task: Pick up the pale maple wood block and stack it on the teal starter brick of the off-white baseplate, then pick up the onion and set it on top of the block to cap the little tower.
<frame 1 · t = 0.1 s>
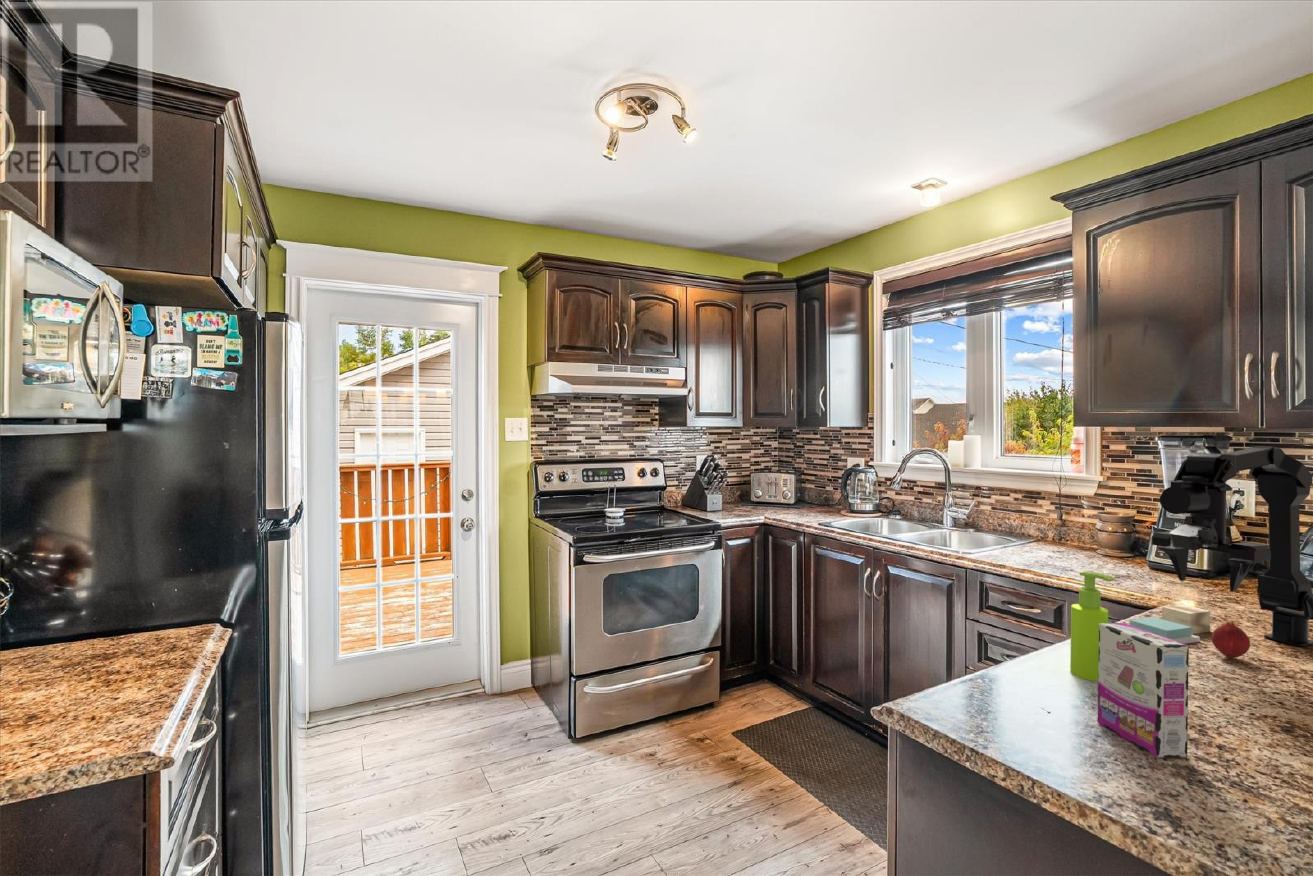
hand: (1206, 585, 129), 15 cm above the counter, tool pointing down, fingers open, 9 cm apart
candy bar box: (1140, 741, 93), on the counter
soap dispenser: (1091, 677, 117), on the counter
onion: (1230, 659, 127), on the counter
maple block: (1185, 629, 146), on the counter
tower base: (1160, 636, 140), on the counter
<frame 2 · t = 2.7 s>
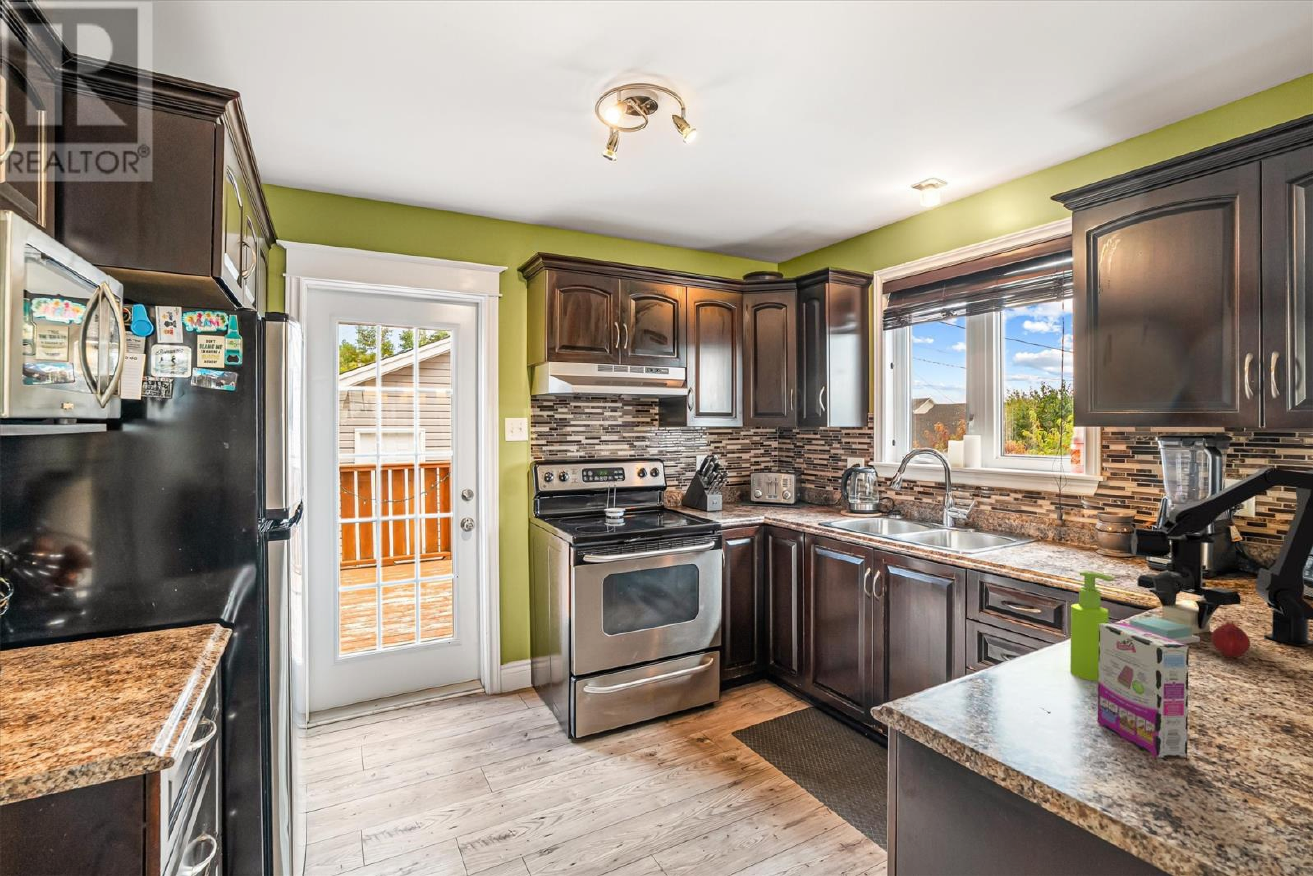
hand: (1185, 624, 146), 1 cm above the counter, tool pointing down, fingers closed on maple block, 6 cm apart
maple block: (1185, 629, 146), on the counter, touching gripper
everything else where it was.
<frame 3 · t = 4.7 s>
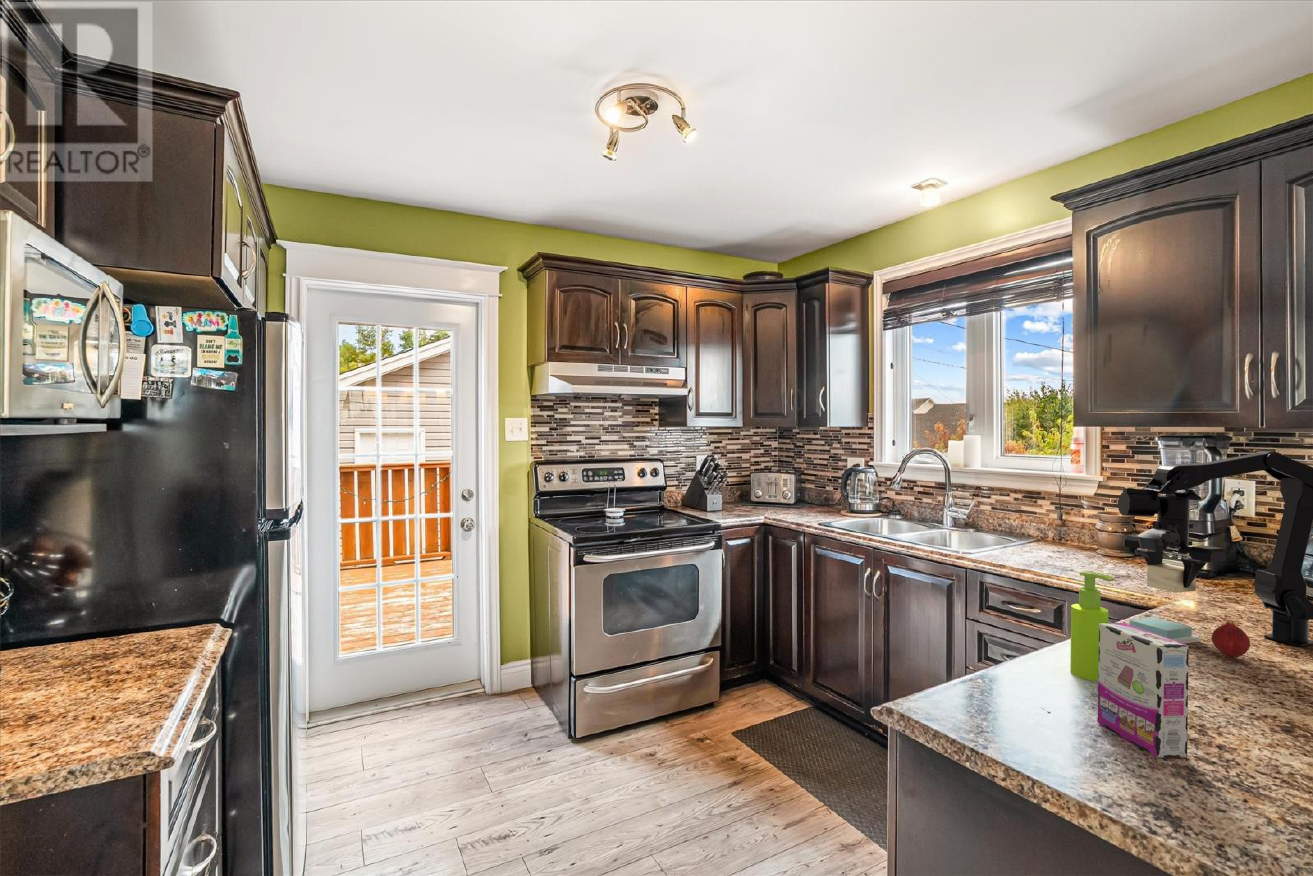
hand: (1170, 584, 143), 11 cm above the counter, tool pointing down, fingers closed on maple block, 6 cm apart
maple block: (1170, 588, 143), point 10 cm above the counter, touching gripper
everything else where it was.
when the fingers open (5 cm above the counter, at t = 6.6 s): maple block stays where it is, resting on tower base.
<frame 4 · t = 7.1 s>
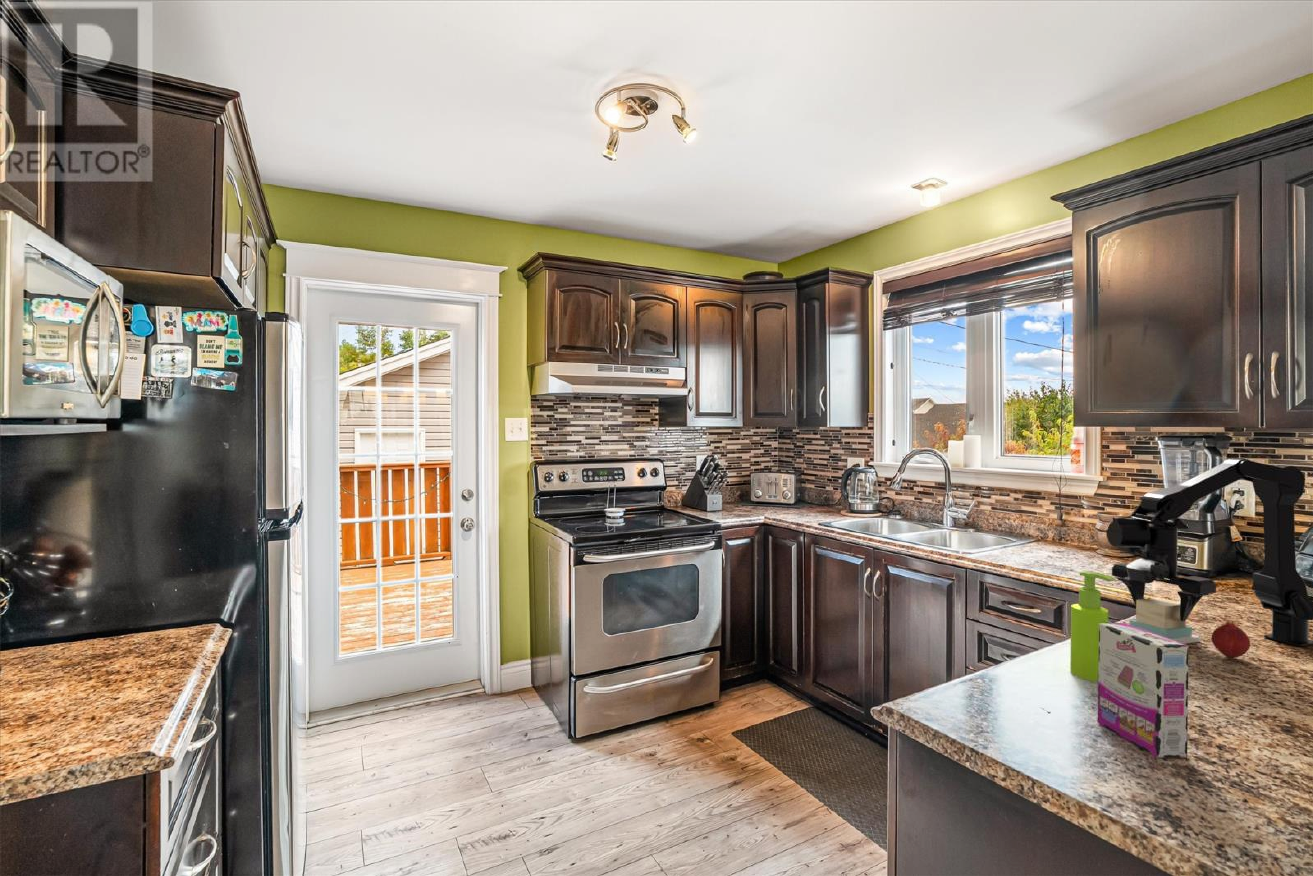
hand: (1160, 615, 140), 5 cm above the counter, tool pointing down, fingers open, 9 cm apart
maple block: (1160, 623, 140), point 3 cm above the counter, touching tower base
everything else where it was.
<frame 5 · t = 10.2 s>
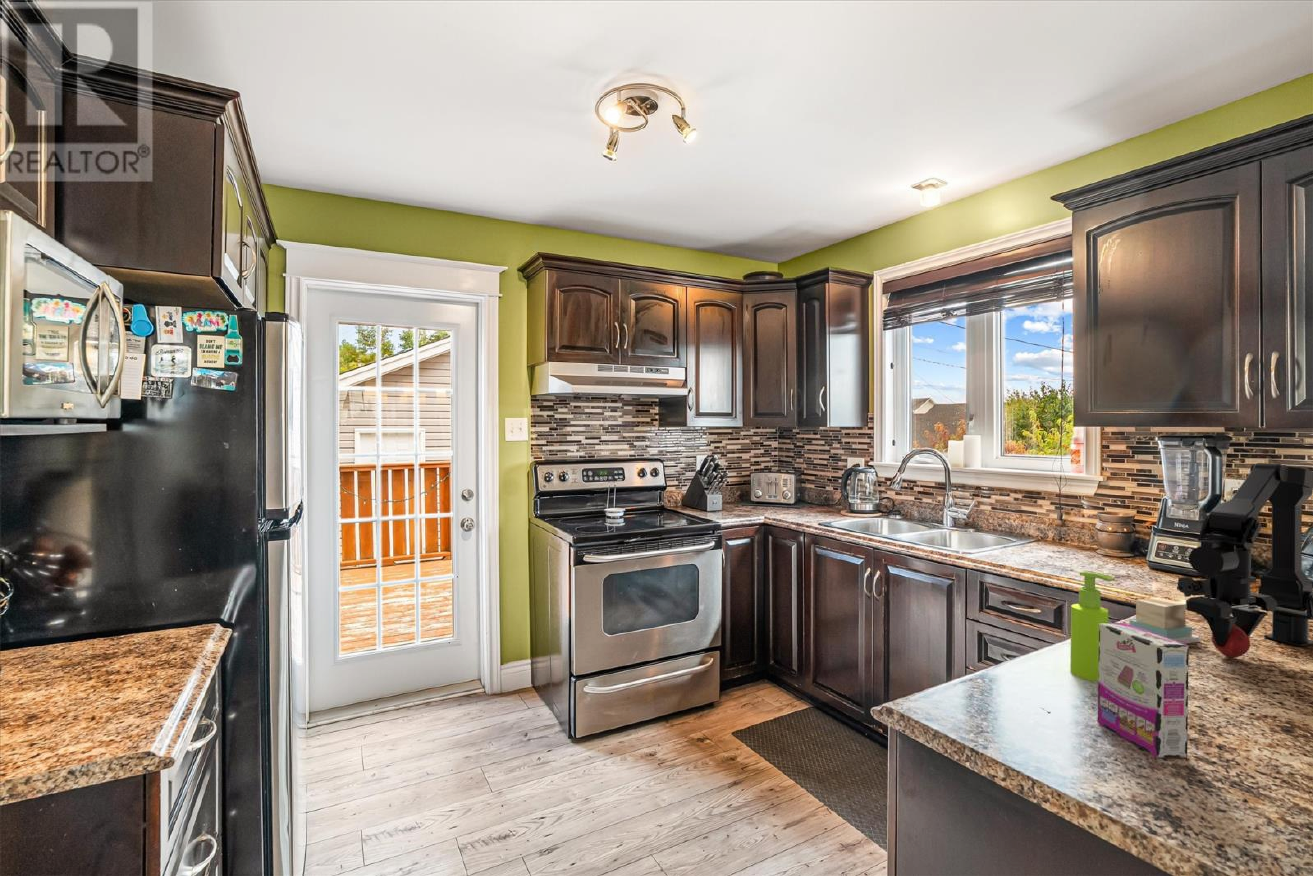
hand: (1230, 645, 127), 3 cm above the counter, tool pointing down, fingers closed on onion, 6 cm apart
onion: (1230, 659, 127), on the counter, touching gripper
everything else where it was.
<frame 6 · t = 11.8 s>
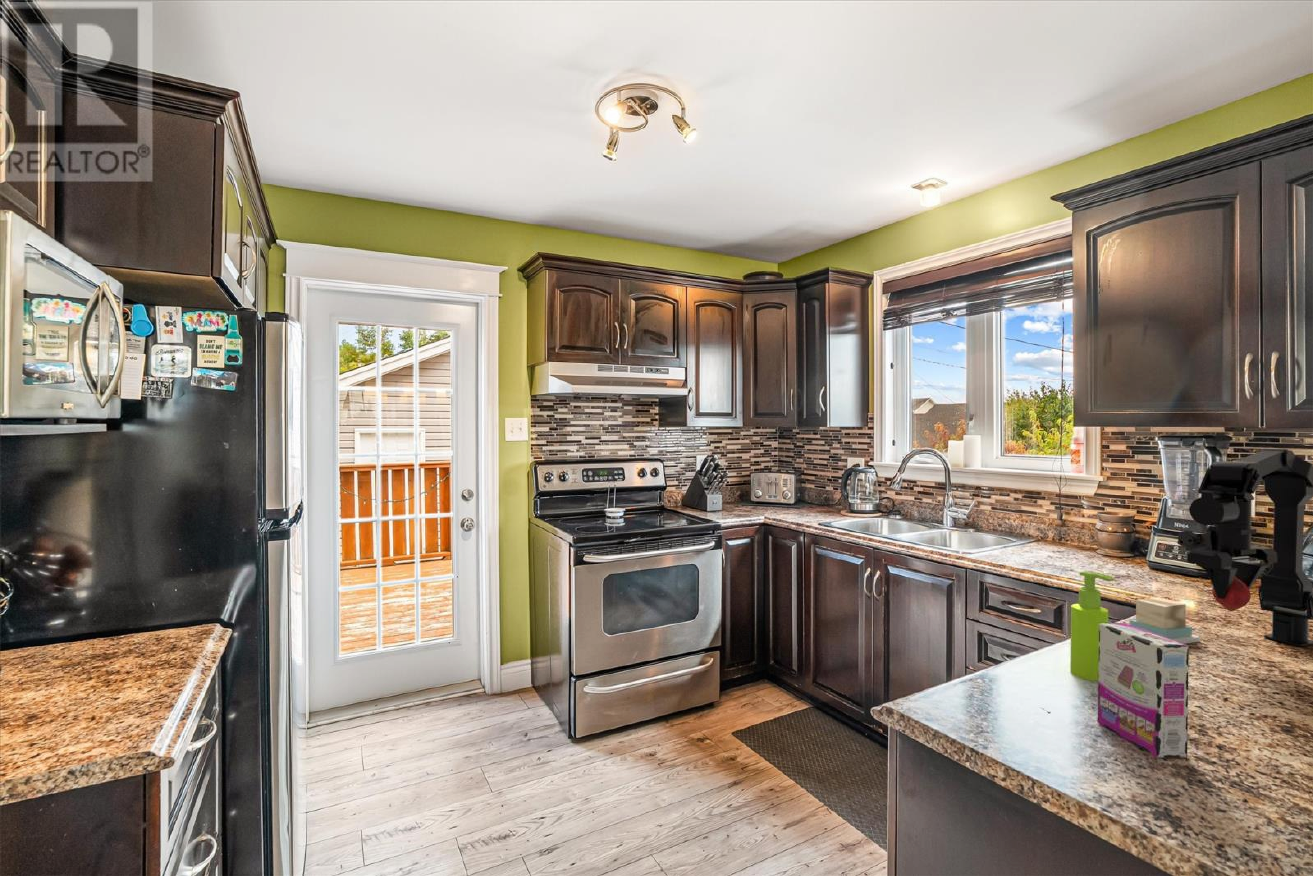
hand: (1231, 597, 127), 13 cm above the counter, tool pointing down, fingers closed on onion, 6 cm apart
onion: (1230, 612, 127), point 10 cm above the counter, touching gripper
everything else where it was.
when the fingers open (12 cm above the counter, at t = 13.7 s): onion stays where it is, resting on maple block.
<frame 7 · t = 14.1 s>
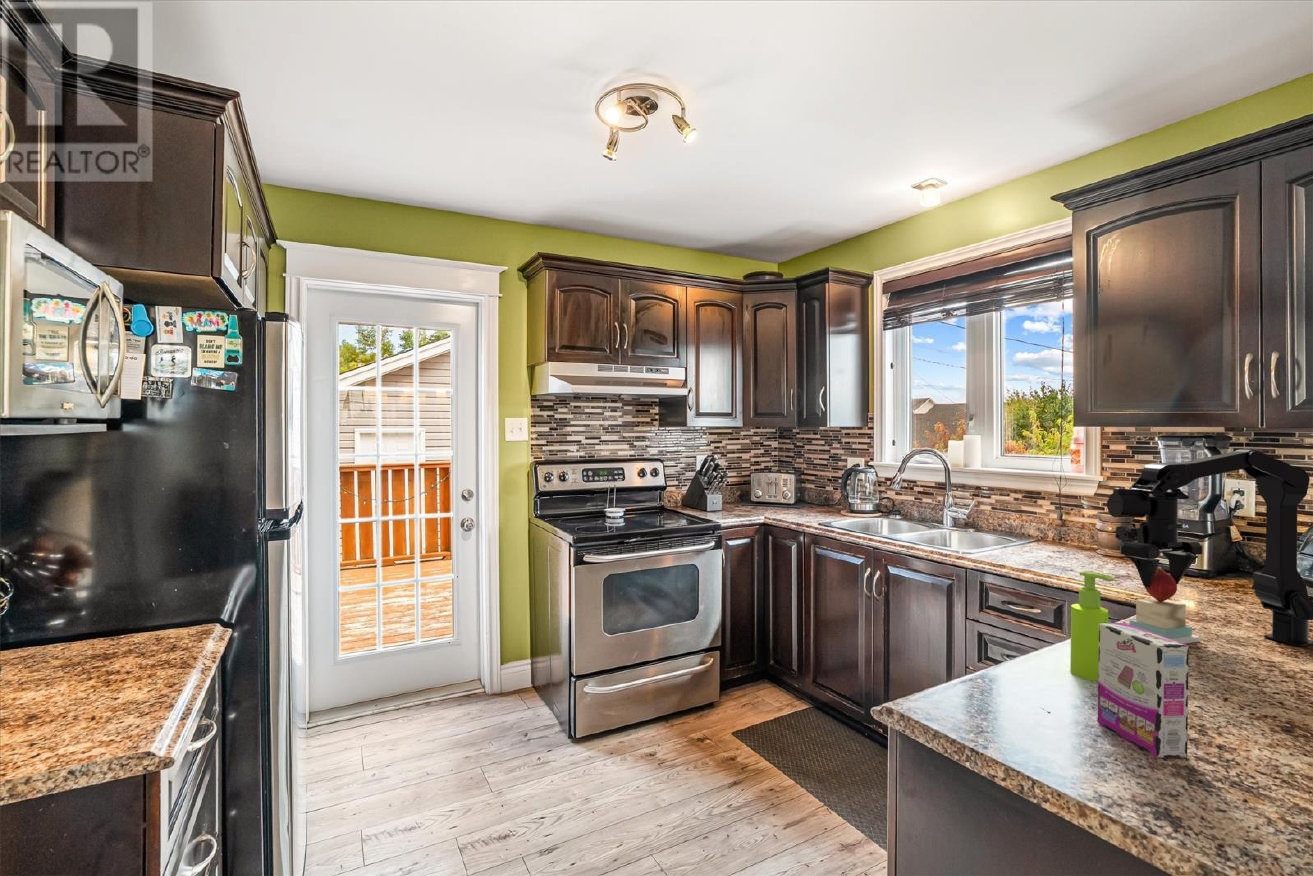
hand: (1160, 585, 140), 12 cm above the counter, tool pointing down, fingers open, 9 cm apart
onion: (1160, 602, 140), point 8 cm above the counter, touching maple block
maple block: (1160, 623, 140), point 3 cm above the counter, touching onion, tower base
everything else where it was.
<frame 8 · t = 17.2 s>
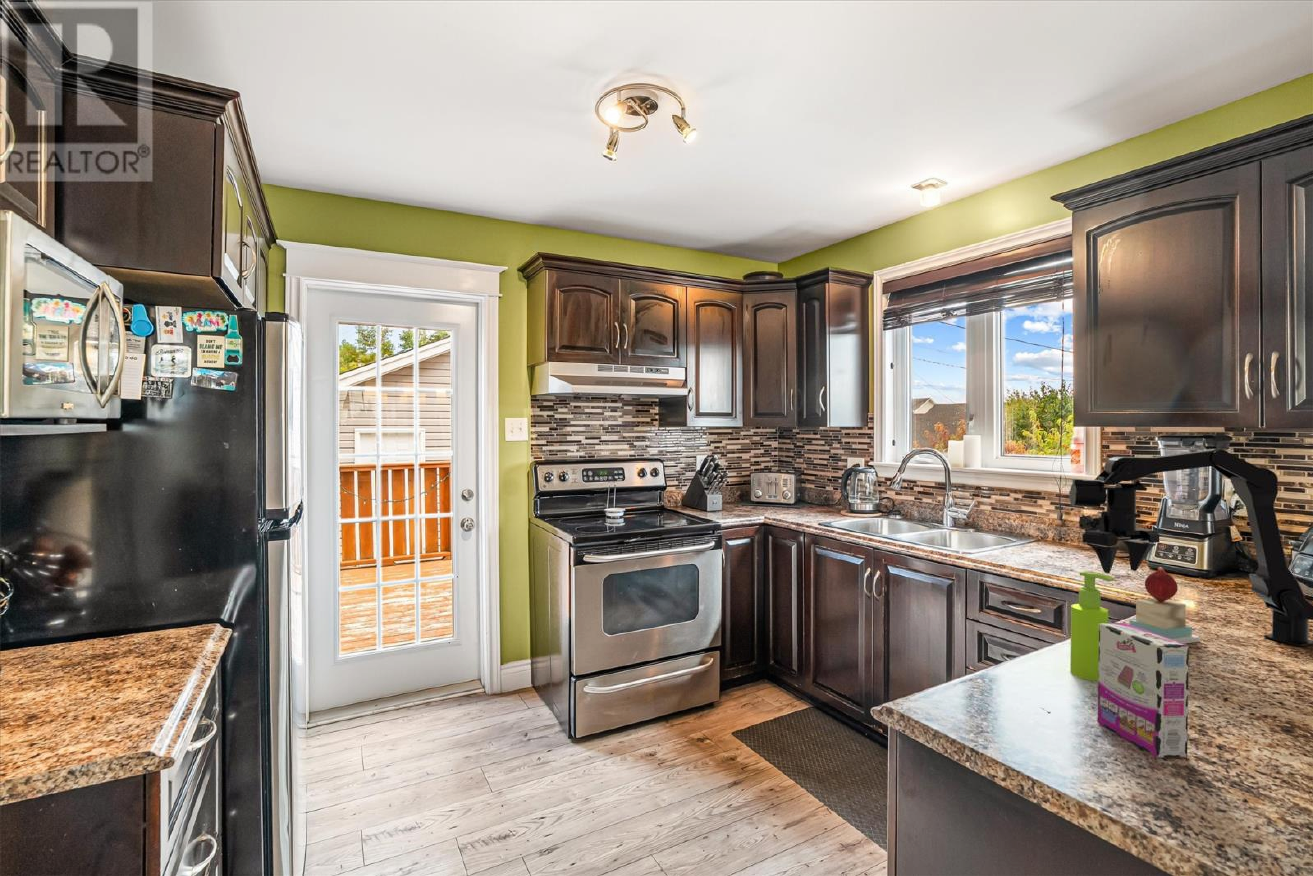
hand: (1120, 571, 149), 13 cm above the counter, tool pointing down, fingers open, 9 cm apart
nothing on the counter moved.
at the end: maple block 0.0 cm off-centre on the tower base, point 3.0 cm above the tower base's base; onion 0.0 cm off-centre on the maple block, point 4.8 cm above the maple block's base; maple block tilted 0° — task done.
